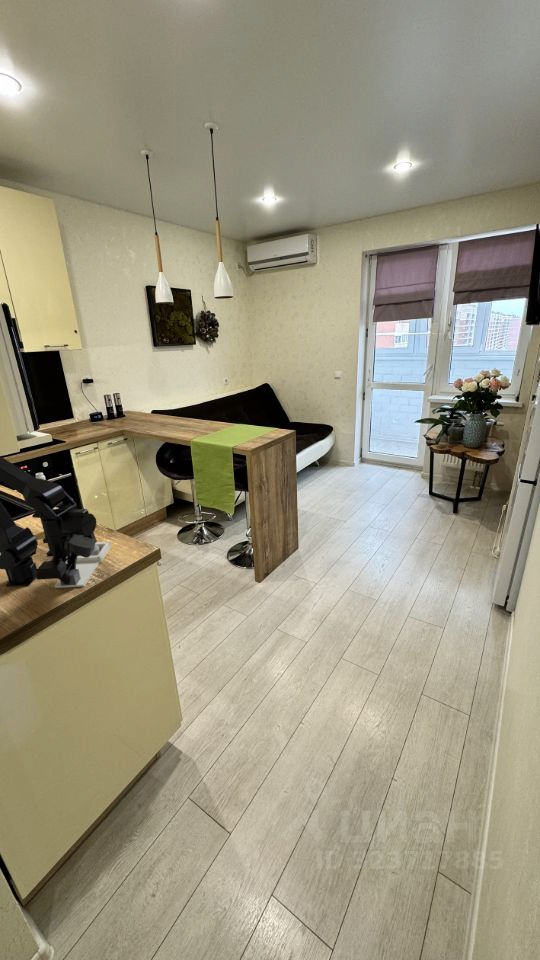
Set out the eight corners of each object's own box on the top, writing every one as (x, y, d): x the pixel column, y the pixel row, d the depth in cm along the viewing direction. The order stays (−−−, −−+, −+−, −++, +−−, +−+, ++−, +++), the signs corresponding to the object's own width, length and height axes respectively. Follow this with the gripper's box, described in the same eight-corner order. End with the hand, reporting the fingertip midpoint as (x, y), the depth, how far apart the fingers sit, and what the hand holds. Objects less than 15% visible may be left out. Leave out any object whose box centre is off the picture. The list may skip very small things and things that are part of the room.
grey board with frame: (52, 587, 104) (49, 576, 102) (83, 548, 123) (80, 538, 122) (85, 586, 104) (83, 574, 103) (110, 547, 123) (108, 536, 122)
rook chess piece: (82, 554, 119) (77, 532, 117) (94, 548, 123) (89, 526, 120) (91, 558, 117) (85, 536, 114) (103, 551, 121) (98, 530, 118)
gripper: (73, 548, 91) (87, 600, 97) (100, 513, 108) (110, 559, 114) (26, 551, 90) (42, 603, 96) (61, 515, 107) (73, 561, 113)
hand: (70, 580), depth 105 cm, fingers open, 3 cm apart
